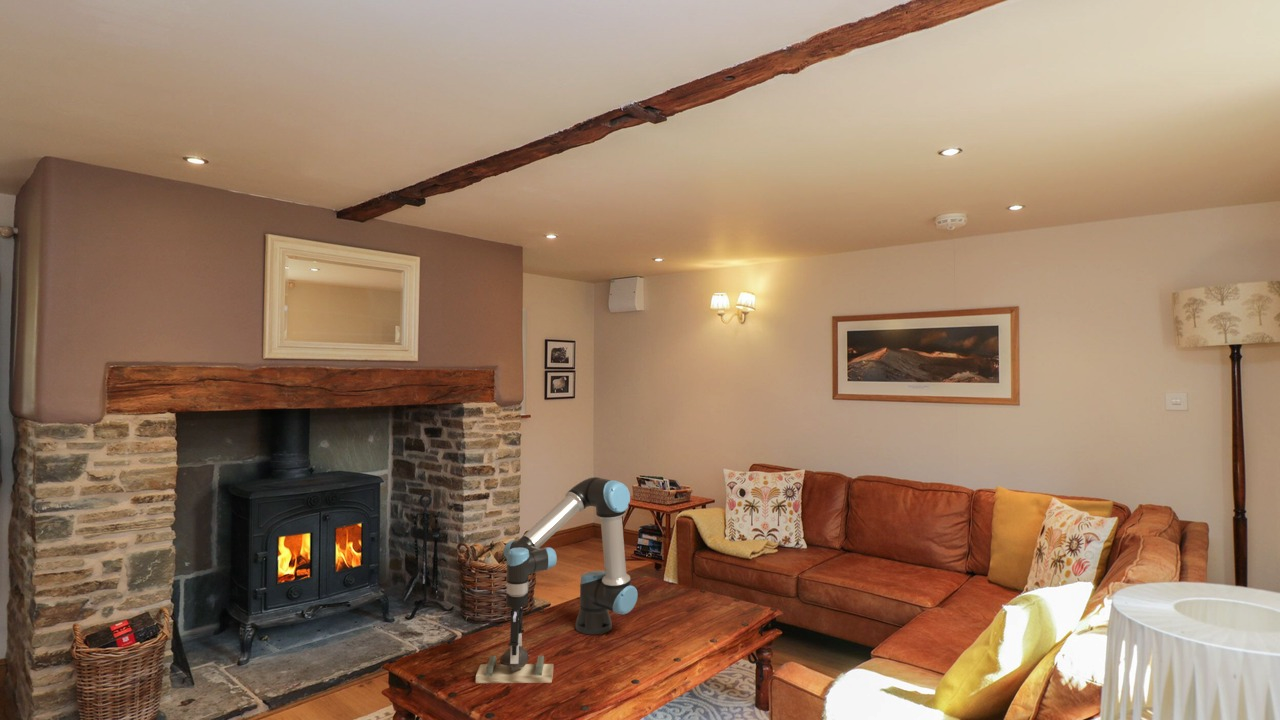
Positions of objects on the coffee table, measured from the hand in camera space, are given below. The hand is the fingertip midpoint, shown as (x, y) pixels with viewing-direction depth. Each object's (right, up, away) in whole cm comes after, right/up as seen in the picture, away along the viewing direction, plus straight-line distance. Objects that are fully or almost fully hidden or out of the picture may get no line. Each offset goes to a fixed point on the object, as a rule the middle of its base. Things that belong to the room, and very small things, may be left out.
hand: (515, 657), depth 240 cm
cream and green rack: (0, -7, 0) cm, 7 cm away
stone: (-1, -3, +1) cm, 3 cm away
